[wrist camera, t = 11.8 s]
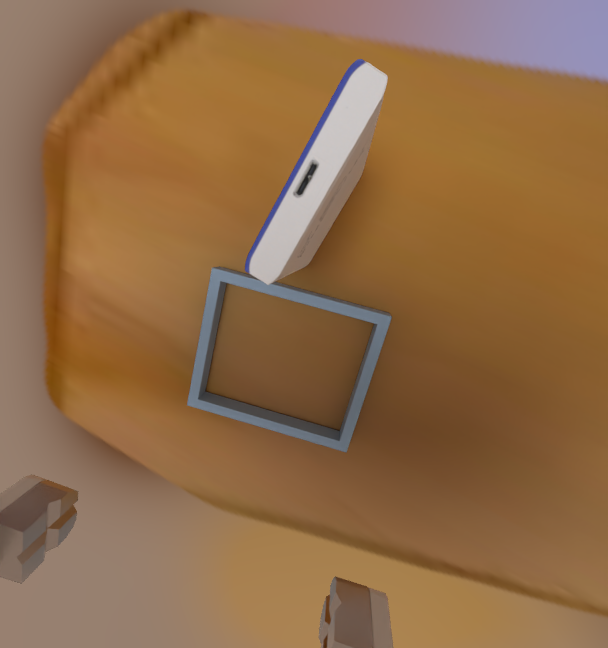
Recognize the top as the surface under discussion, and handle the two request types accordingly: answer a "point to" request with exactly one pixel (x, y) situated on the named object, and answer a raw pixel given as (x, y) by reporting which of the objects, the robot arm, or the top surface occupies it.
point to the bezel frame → (267, 417)
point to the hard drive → (321, 177)
